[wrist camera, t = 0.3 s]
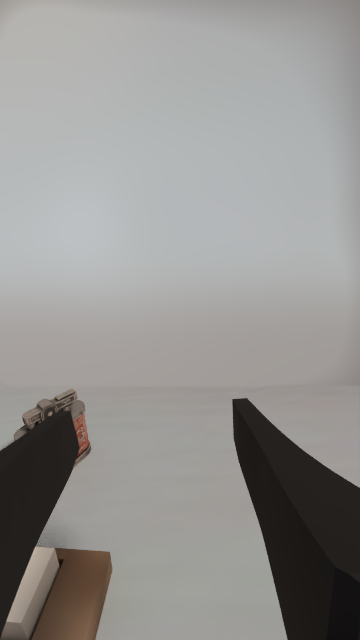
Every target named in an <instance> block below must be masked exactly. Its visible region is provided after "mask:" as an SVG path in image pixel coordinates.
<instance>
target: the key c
mask: <svg viewBox="0 0 360 640" xmlns="http://www.w3.org/2000/svg"><path fill="white" fill-rule="evenodd" d="M59 570H60V566H59V563H58V559H57V555H56V551H55V548H47V547H35V549H34V551H33V554H32V556H31V559H30V561H29V563H28V566H27V568H26V571H25V573H24V576H23V578H22V581H21V584H20V586H19V589H18V591H17V594H16V597H15V599H14V602H13V605H12V607H11V610H10V613H9V615H8V618H7V621H6V623H5V626H4V629H3V632H2V635H1V638H0V640H31V639H32V637H33V635H34V632H35V630H36V627H37V625H38V622H39V620H40V617H41V615H42V612H43V610H44V607H45V605H46V602H47V600H48V597H49V595H50V592H51V590H52V588H53V585H54V583H55V580H56V578H57V575H58V573H59Z"/></svg>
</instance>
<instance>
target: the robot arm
mask: <svg viewBox="0 0 360 640" xmlns="http://www.w3.org/2000/svg"><path fill="white" fill-rule="evenodd" d="M232 400H233V428H234V441H235V446H236V451H237V455H238V460H239V463H240V467H241V470H242V473H243V476H244V479H245V482H246V485H247V488H248V491H249V494H250V497H251V500H252V503H253V506H254V509H255V512H256V515H257V518H258V521H259V524H260V528H261V531H262V534H263V538H264V542H265V546H266V550H267V554H268V558H269V563H270V567H271V571H272V575H273V579H274V583H275V587H276V592H277V596H278V600H279V604H280V608H281V613H282V617H283V621H284V626H285V630H286V634H287V639H288V640H360V488H359V487H357V486H355V485H354V484H352V483H351V482H349V481H347V480H346V479H344V478H343V477H341V476H339V475H338V474H336V473H335V472H333V471H332V470H330V469H329V468H327V467H326V466H324V465H323V464H321V463H320V462H318V461H317V460H316V459H314V458H313V457H311V456H310V455H309V454H307V453H306V452H305V451H303V450H302V449H301V448H299V447H298V446H297V445H296V444H295V443H293V442H292V441H291V440H290V439H289V438H287V437H286V436H285V435H284V434H283V433H282V432H281V431H280V430H278V429H277V428H276V427H275V426H274V425H273V424H272V423H271V422H270V421H269V420H268V419H267V418H266V417H265V416H264V415H263V414H262V413H261V412H260V411H259V410H258V409H257V408H256V407H255V406H254V405H253V404H252V403H251V402H250V401H249V400H248V399H247V398H243V399H232ZM79 450H80V446H79V442H78V438H77V434H76V430H75V426H74V422H73V418H72V414H71V411H62V412H56V413H55V414H53V415H51V416H50V417H48V418H47V419H45V420H44V421H42V422H41V423H40V424H38V425H37V426H35V427H34V428H33V429H31V430H30V431H28V432H27V433H25V434H24V435H23V436H21V437H20V438H18V439H17V440H16V441H14V442H13V443H11V444H10V445H9V446H7V447H6V448H4V449H3V450H1V451H0V638H1V635H2V632H3V629H4V626H5V623H6V621H7V618H8V615H9V613H10V610H11V607H12V605H13V602H14V599H15V597H16V594H17V591H18V589H19V586H20V584H21V581H22V578H23V576H24V573H25V571H26V568H27V566H28V563H29V561H30V559H31V556H32V554H33V551H34V549H35V546H36V544H37V542H38V540H39V538H40V535H41V533H42V531H43V529H44V527H45V525H46V523H47V521H48V519H49V517H50V515H51V513H52V511H53V509H54V507H55V505H56V503H57V501H58V499H59V497H60V495H61V493H62V491H63V489H64V487H65V485H66V483H67V481H68V479H69V477H70V474H71V472H72V470H73V467H74V464H75V462H76V459H77V456H78V453H79Z"/></svg>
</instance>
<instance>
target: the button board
mask: <svg viewBox="0 0 360 640" xmlns="http://www.w3.org/2000/svg"><path fill="white" fill-rule="evenodd" d="M47 548H48V547H47ZM55 551H56V555H57V559H58V563H59V566H60V570H59V573H58V575H57V578H56V580H55V583H54V585H53V588H52V590H51V592H50V595H49V597H48V600H47V602H46V605H45V607H44V610H43V612H42V615H41V617H40V620H39V622H38V625H37V627H36V630H35V632H34V635H33V637H32V639H31V640H95V638H96V634H97V630H98V626H99V622H100V618H101V614H102V610H103V605H104V601H105V597H106V593H107V589H108V585H109V581H110V577H111V573H112V564H111V557H110V552H104V551H90V550H76V549H62V548H55Z"/></svg>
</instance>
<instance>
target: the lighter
mask: <svg viewBox="0 0 360 640" xmlns="http://www.w3.org/2000/svg"><path fill="white" fill-rule="evenodd" d="M62 411H71V414H72V418H73V422H74V426H75V430H76V434H77V438H78V442H79V446H80V450H79V453H78V456H77V459H76V462H75V464H74V467H75V466H77V465H78V464H79V463H80V462H81V461H82V460H83V459H84V458H85V457H86V456H87V455H88V454H89V453H90V451H91V445H90V441H89V440H88V435H87V428H86V422H85V416H84V412H85V406H84V403H83V402H82V401H80V400H77V392H76V391H75V390H73V389H70V390H68V391H66V392H64V393H62V394H60V395H58V396H56V397H55V398H53V399H51V400H47V399H43V400H41V401H39V402H38V404H37V406H36V407H35V408H33V409H31V410H29V411H27V412H25V413H23V414H22V418H23V422H24V424H25V425H24V426H23V427H21V428H20V429H18V430H17V431H16V432H15V434H14V440H15V441H16V440H17V439H18V438H20V437H21V436H23V435H24V434H25V433H27V432H28V431H30V430H31V429H33V428H34V427H35V426H37V425H38V424H40V423H41V422H42V421H44V420H45V419H47V418H48V417H50V416H51V415H53V414H55V413H56V412H62ZM74 467H73V468H74Z"/></svg>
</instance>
